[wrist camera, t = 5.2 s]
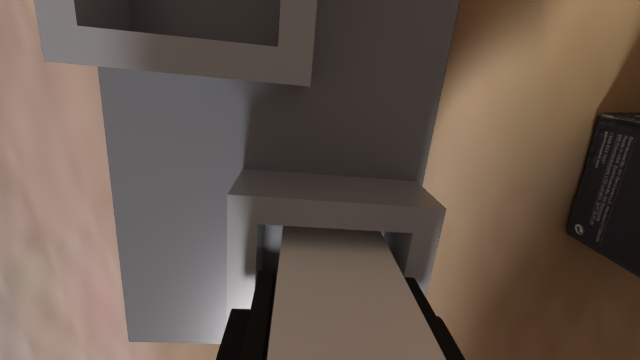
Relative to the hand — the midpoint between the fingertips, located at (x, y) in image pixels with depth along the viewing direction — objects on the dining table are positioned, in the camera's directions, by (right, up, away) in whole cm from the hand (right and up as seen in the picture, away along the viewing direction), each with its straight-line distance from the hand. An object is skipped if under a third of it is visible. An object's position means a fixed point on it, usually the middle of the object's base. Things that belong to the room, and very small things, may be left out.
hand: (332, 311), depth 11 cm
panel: (-2, +7, +2) cm, 8 cm away
